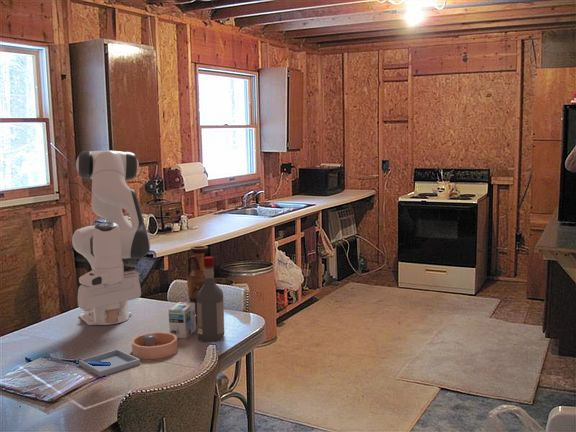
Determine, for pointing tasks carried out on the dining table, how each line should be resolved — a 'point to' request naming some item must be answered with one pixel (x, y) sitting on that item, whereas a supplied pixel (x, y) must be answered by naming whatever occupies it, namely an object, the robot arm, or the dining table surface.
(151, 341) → the grey cube
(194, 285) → the vase
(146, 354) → the bowl
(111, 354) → the parts tray
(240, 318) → the dining table surface
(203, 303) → the liquor
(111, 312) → the tan wooden cube
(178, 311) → the light bulb box
